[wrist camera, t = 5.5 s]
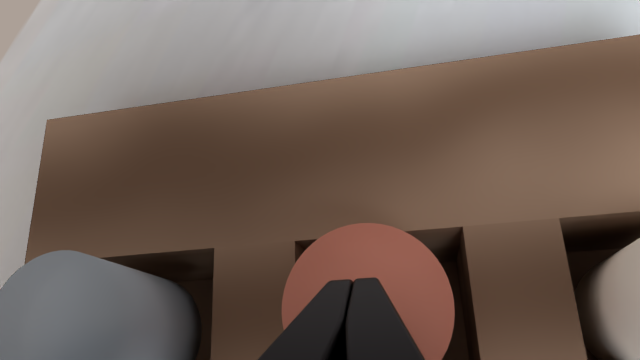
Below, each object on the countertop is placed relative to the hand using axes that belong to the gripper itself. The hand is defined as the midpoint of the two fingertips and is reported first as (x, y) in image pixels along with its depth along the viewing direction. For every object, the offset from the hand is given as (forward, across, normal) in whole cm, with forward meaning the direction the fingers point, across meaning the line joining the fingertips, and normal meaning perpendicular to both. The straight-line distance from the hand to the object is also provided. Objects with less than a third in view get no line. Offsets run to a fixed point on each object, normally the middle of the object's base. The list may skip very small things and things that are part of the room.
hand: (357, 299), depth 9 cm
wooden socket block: (+9, 0, +6) cm, 11 cm away
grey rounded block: (+4, +7, +4) cm, 9 cm away
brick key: (+4, 0, +4) cm, 6 cm away
